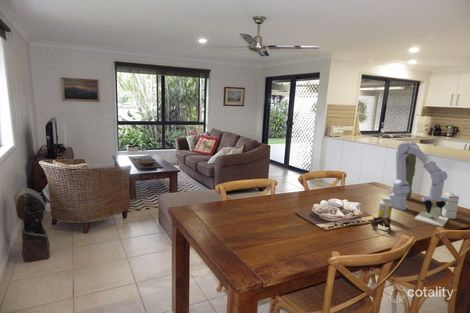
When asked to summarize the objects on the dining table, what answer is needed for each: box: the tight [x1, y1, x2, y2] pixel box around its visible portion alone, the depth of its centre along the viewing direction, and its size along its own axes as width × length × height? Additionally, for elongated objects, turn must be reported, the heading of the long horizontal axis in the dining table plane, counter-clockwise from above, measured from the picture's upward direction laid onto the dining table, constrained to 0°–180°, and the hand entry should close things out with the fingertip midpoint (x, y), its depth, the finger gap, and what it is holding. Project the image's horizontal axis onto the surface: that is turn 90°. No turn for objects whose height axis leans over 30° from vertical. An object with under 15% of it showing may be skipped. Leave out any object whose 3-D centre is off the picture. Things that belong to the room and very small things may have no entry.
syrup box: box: [440, 192, 460, 220], centre depth 176 cm, size 6×6×14 cm
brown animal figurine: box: [370, 216, 392, 235], centre depth 156 cm, size 12×10×8 cm
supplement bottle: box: [377, 196, 393, 220], centre depth 170 cm, size 7×7×13 cm
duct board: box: [414, 211, 449, 228], centre depth 171 cm, size 14×16×4 cm
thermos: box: [406, 153, 417, 201], centre depth 208 cm, size 9×12×35 cm
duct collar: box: [425, 204, 442, 218], centre depth 171 cm, size 5×5×6 cm
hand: (432, 212), depth 171 cm, fingers closed on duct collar, 5 cm apart
